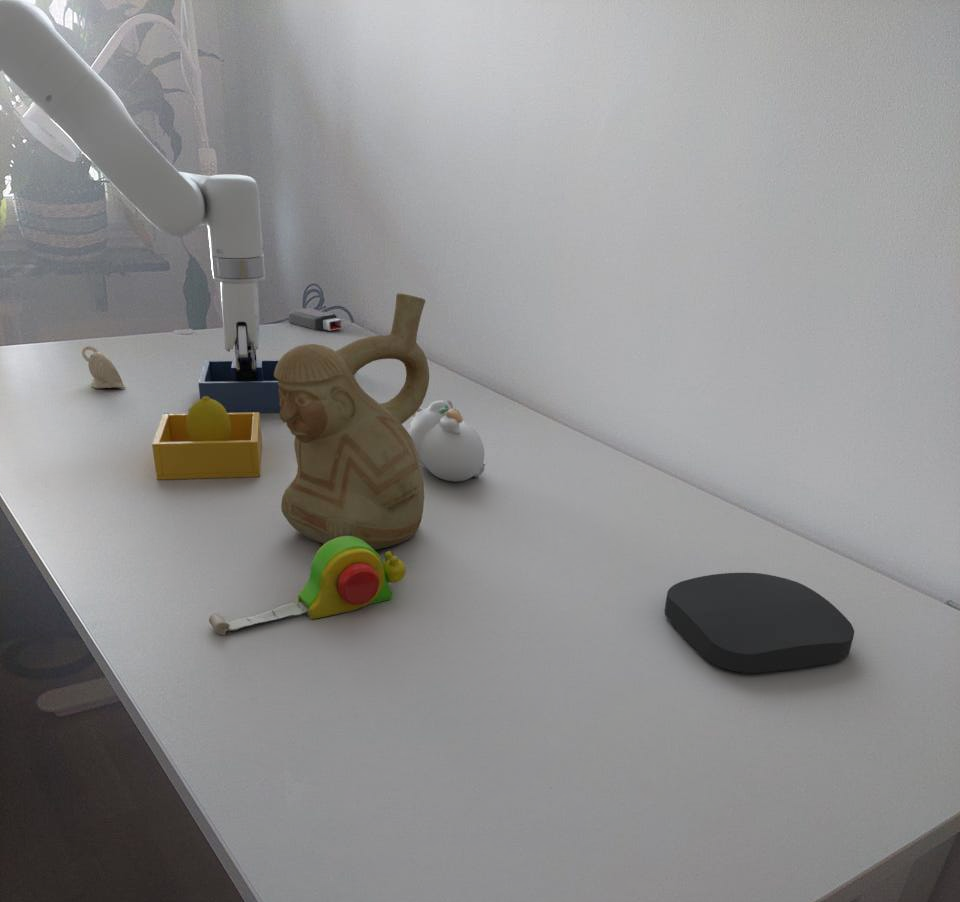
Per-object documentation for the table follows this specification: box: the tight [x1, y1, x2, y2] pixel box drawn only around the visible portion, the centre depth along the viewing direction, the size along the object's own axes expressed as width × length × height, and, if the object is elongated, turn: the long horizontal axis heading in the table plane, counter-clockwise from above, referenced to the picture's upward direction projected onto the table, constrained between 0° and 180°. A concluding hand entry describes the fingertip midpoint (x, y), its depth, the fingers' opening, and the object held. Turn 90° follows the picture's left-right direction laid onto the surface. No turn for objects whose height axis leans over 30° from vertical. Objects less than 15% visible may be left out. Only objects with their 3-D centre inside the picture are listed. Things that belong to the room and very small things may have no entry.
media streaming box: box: [664, 572, 855, 674], centre depth 91 cm, size 15×15×3 cm
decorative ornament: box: [81, 346, 126, 390], centre depth 155 cm, size 4×8×5 cm, turn 37°
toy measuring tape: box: [208, 536, 407, 636], centre depth 91 cm, size 6×19×7 cm, turn 120°
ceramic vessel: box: [274, 292, 430, 551], centre depth 102 cm, size 17×20×25 cm
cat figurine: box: [407, 399, 486, 483], centre depth 125 cm, size 10×8×15 cm
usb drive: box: [288, 307, 343, 332], centre depth 198 cm, size 5×12×3 cm, turn 47°
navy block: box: [231, 359, 264, 381], centre depth 150 cm, size 4×4×4 cm
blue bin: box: [197, 359, 281, 414], centre depth 150 cm, size 14×14×5 cm
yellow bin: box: [151, 412, 263, 481], centre depth 126 cm, size 13×13×5 cm
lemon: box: [187, 396, 231, 442], centre depth 125 cm, size 6×6×8 cm
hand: (249, 390), depth 151 cm, fingers closed on navy block, 4 cm apart
